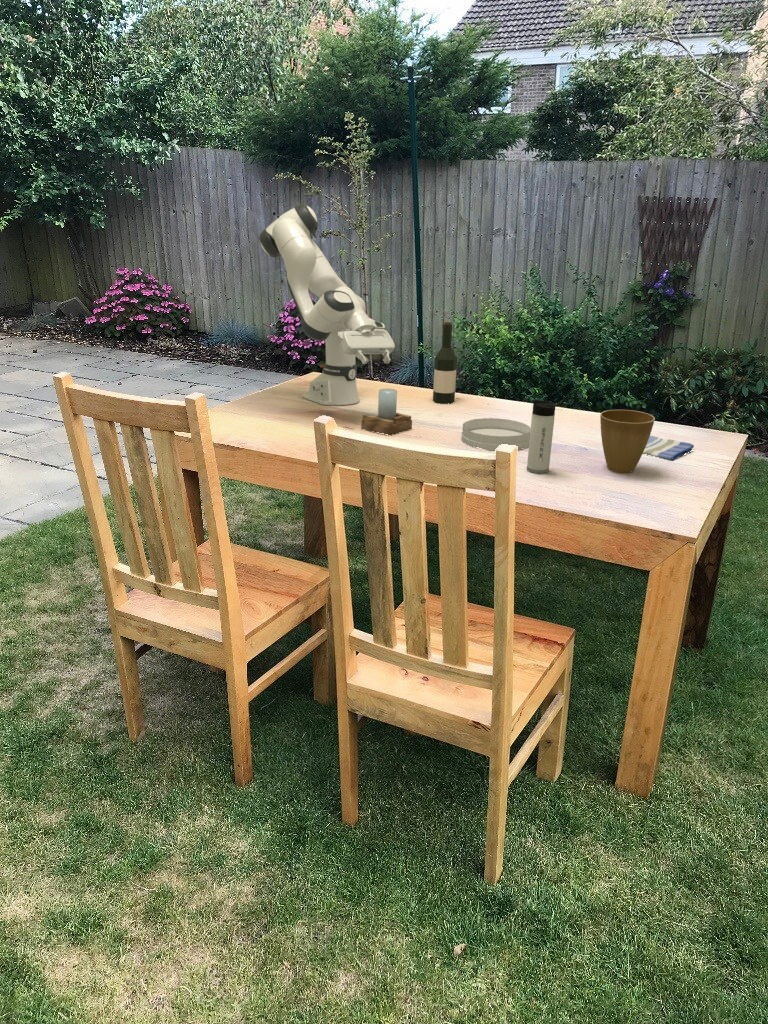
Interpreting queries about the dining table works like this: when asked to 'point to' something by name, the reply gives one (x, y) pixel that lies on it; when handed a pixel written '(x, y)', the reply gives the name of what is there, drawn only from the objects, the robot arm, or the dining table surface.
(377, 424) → the chest
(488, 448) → the dish
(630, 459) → the plant pot
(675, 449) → the dish towel
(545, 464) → the travel mug
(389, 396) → the grey domed cylinder
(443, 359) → the wine bottle
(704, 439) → the dining table surface
